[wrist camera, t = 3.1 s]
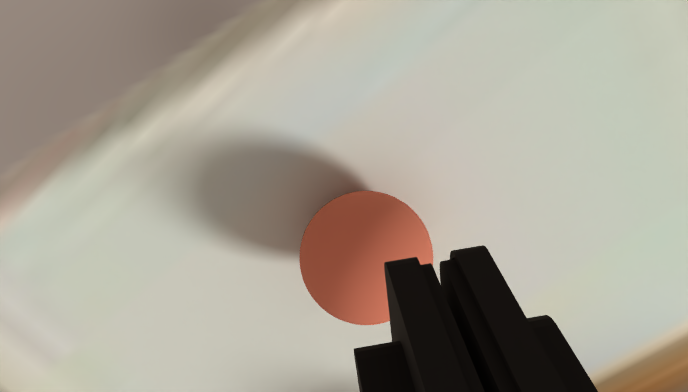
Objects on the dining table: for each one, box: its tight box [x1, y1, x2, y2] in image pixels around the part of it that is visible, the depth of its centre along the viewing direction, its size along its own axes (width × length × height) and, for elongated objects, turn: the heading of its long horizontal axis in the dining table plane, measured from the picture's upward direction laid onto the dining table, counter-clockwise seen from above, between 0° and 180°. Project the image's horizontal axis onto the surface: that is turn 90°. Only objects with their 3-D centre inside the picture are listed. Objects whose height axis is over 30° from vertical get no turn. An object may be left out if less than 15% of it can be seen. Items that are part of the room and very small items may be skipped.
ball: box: [300, 191, 433, 325], centre depth 30 cm, size 6×6×6 cm
